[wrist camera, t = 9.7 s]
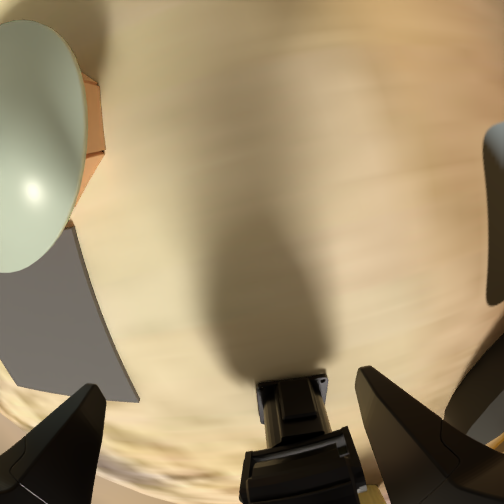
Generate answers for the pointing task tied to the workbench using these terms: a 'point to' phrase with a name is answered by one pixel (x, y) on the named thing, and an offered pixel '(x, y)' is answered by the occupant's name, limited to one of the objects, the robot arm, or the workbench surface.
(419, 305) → the workbench surface
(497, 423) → the chair
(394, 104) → the workbench surface
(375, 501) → the potted cactus
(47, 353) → the mat
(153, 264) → the workbench surface
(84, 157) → the pale green round piece
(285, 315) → the workbench surface
